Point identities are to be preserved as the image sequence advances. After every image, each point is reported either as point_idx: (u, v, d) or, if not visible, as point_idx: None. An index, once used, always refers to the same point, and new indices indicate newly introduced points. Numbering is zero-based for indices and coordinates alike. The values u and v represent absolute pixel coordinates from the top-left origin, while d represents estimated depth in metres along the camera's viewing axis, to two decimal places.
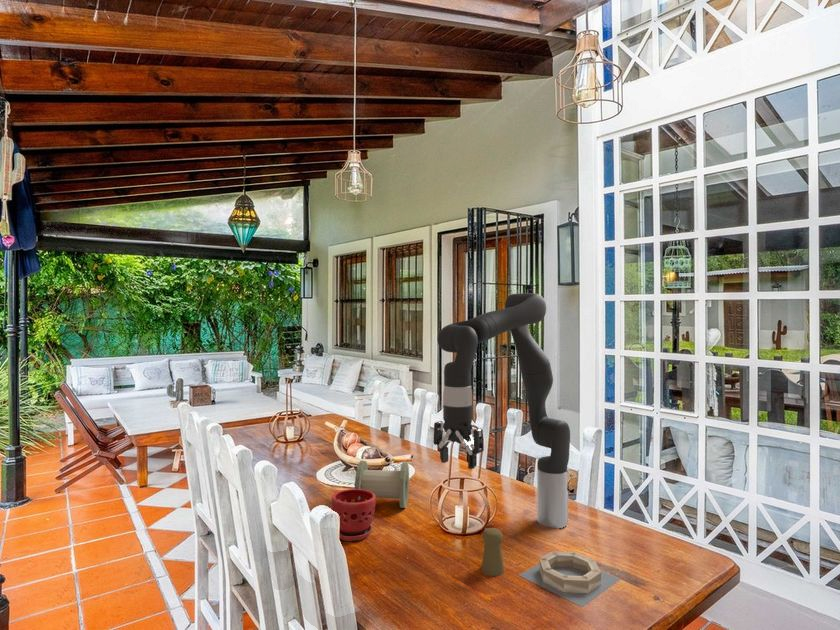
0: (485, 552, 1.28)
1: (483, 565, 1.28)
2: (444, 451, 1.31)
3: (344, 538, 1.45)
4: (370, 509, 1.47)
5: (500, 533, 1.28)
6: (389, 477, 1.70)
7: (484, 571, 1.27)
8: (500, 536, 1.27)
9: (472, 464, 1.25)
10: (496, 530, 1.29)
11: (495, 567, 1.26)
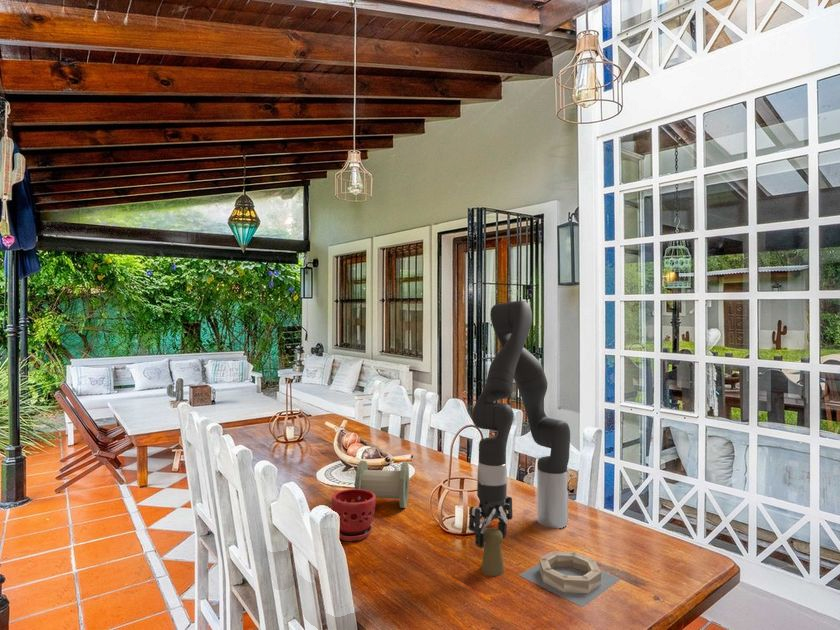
0: (485, 552, 1.28)
1: (483, 565, 1.28)
2: None
3: (344, 538, 1.45)
4: (370, 509, 1.47)
5: (500, 533, 1.28)
6: (389, 477, 1.70)
7: (484, 571, 1.27)
8: (500, 536, 1.27)
9: (505, 532, 1.32)
10: (496, 530, 1.29)
11: (495, 567, 1.26)
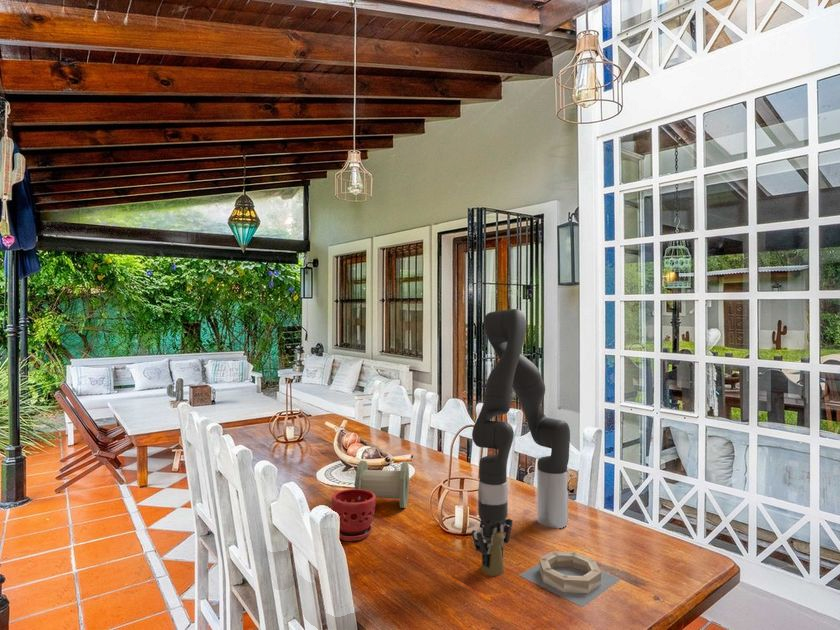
0: None
1: None
2: None
3: (344, 538, 1.45)
4: (370, 509, 1.47)
5: (500, 533, 1.28)
6: (389, 477, 1.70)
7: (484, 571, 1.27)
8: (500, 536, 1.27)
9: (502, 555, 1.31)
10: None
11: (495, 567, 1.26)
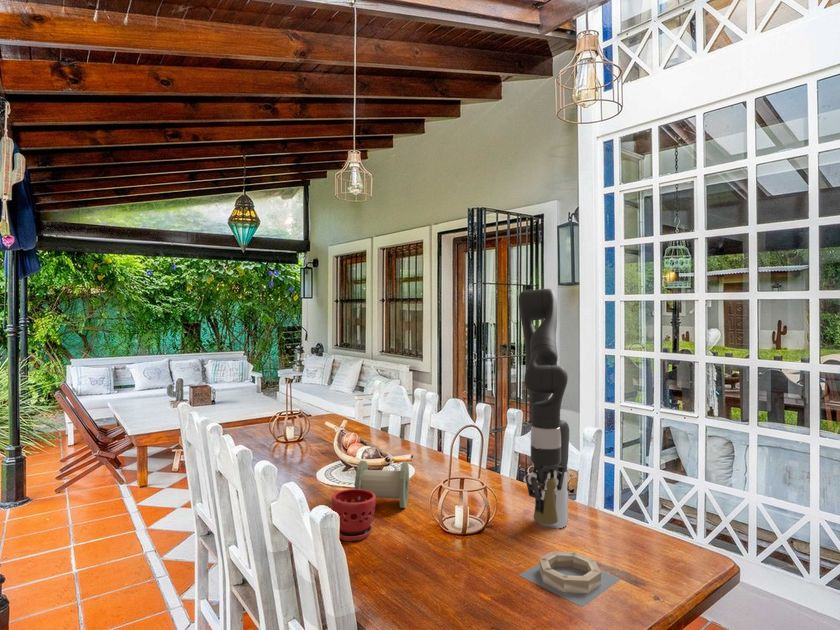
0: None
1: None
2: None
3: (344, 538, 1.45)
4: (370, 509, 1.47)
5: (553, 479, 1.26)
6: (389, 477, 1.70)
7: (537, 517, 1.25)
8: (554, 482, 1.25)
9: None
10: None
11: (549, 513, 1.24)
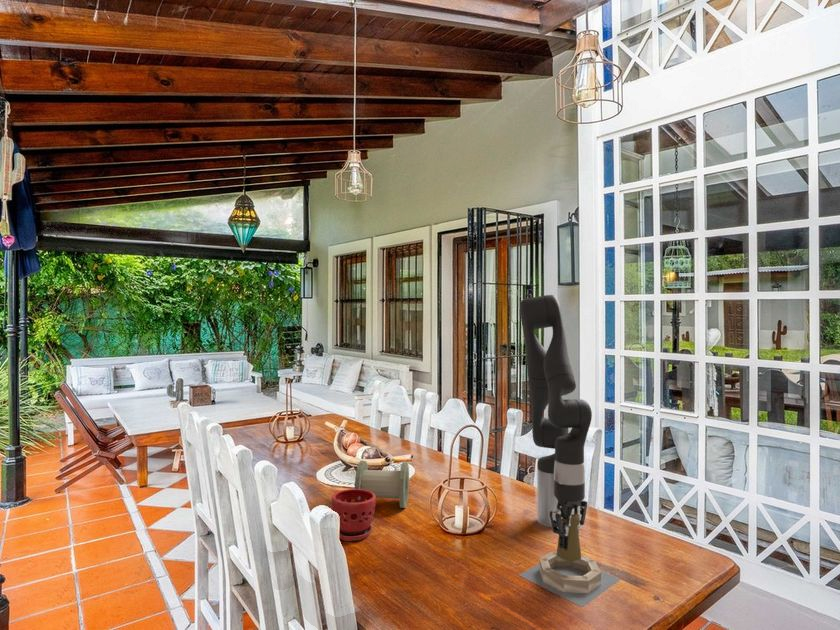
0: None
1: None
2: None
3: (344, 538, 1.45)
4: (370, 509, 1.47)
5: (577, 514, 1.25)
6: (389, 477, 1.70)
7: (561, 553, 1.24)
8: (578, 517, 1.24)
9: None
10: None
11: (573, 549, 1.23)
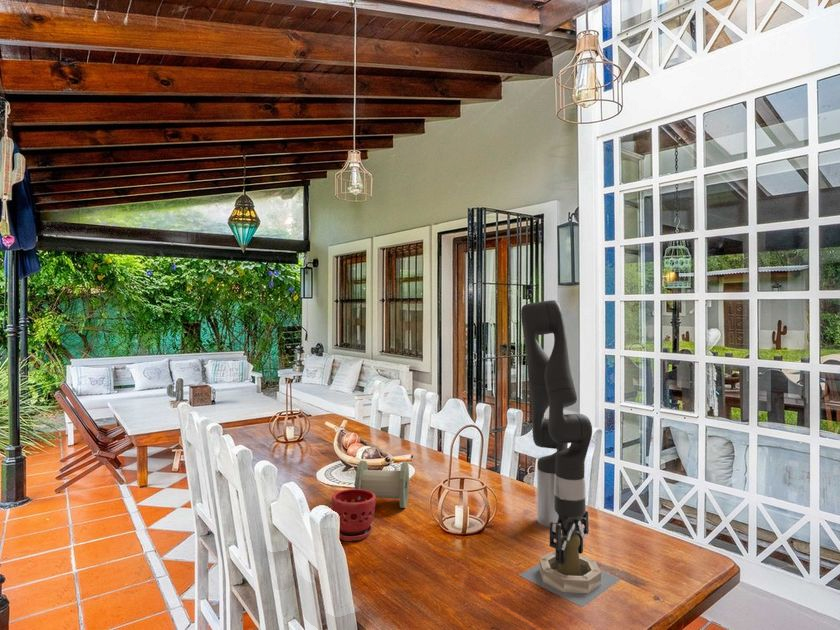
0: None
1: (560, 569, 1.25)
2: None
3: (344, 538, 1.45)
4: (370, 509, 1.47)
5: (577, 536, 1.25)
6: (389, 477, 1.70)
7: None
8: (578, 539, 1.24)
9: None
10: None
11: (573, 571, 1.23)
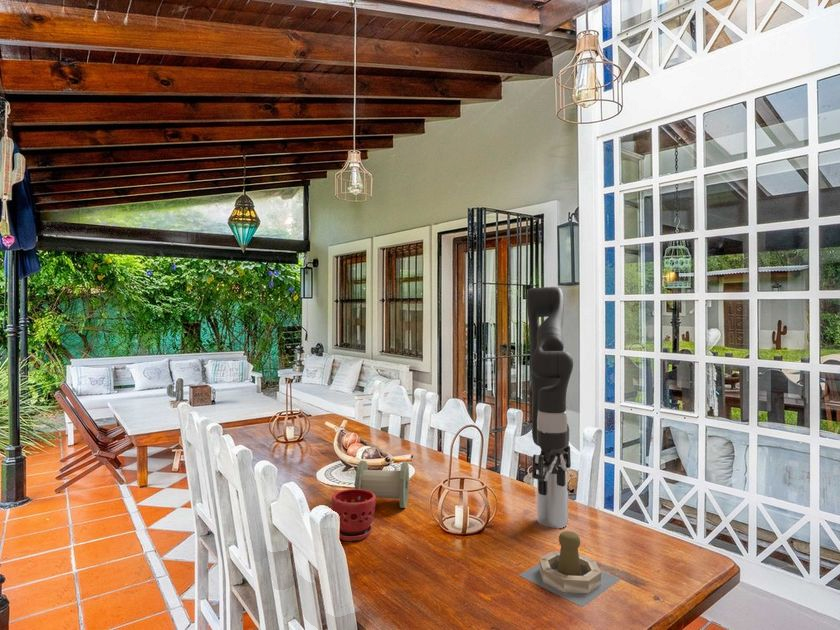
0: (562, 556, 1.25)
1: (560, 569, 1.25)
2: None
3: (344, 538, 1.45)
4: (370, 509, 1.47)
5: (577, 536, 1.25)
6: (389, 477, 1.70)
7: None
8: (578, 539, 1.24)
9: (564, 480, 1.32)
10: (573, 533, 1.26)
11: (573, 571, 1.23)
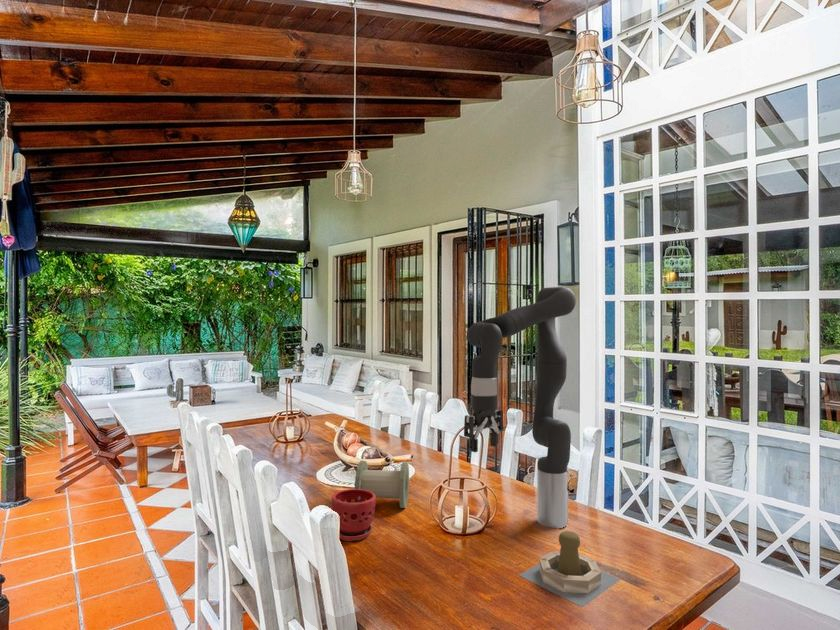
0: (562, 556, 1.25)
1: (560, 569, 1.25)
2: None
3: (344, 538, 1.45)
4: (370, 509, 1.47)
5: (577, 536, 1.25)
6: (389, 477, 1.70)
7: None
8: (578, 539, 1.24)
9: None
10: (573, 533, 1.26)
11: (573, 571, 1.23)
